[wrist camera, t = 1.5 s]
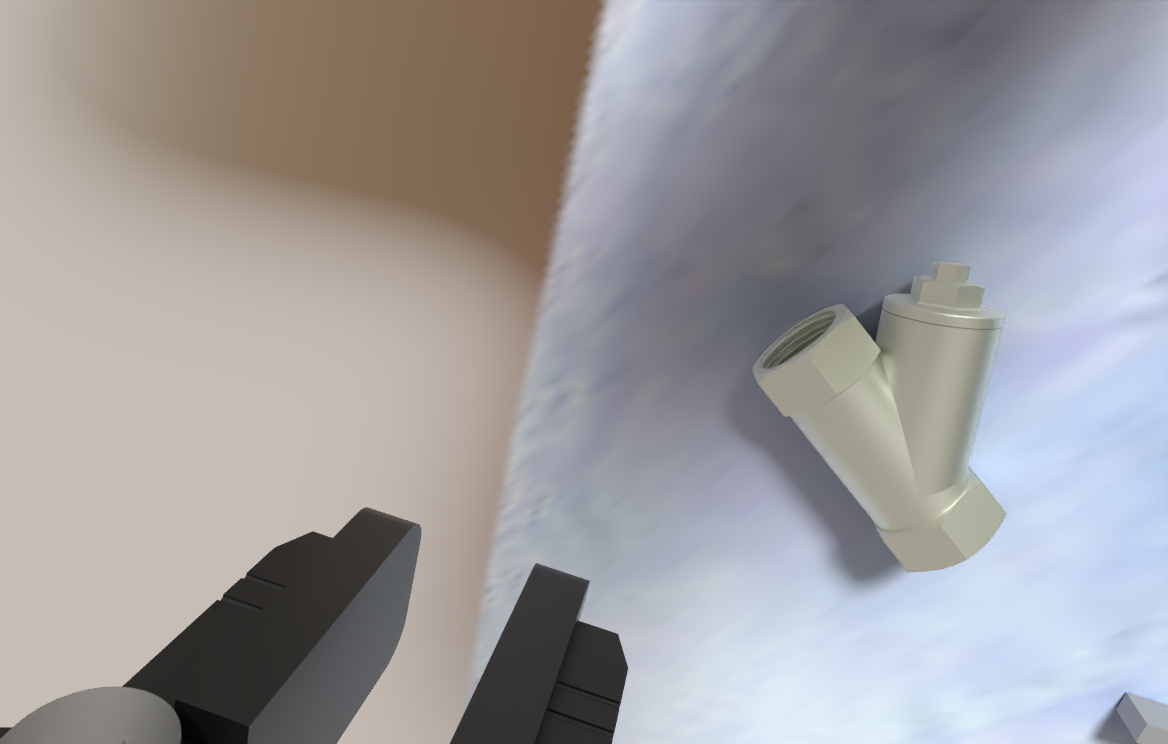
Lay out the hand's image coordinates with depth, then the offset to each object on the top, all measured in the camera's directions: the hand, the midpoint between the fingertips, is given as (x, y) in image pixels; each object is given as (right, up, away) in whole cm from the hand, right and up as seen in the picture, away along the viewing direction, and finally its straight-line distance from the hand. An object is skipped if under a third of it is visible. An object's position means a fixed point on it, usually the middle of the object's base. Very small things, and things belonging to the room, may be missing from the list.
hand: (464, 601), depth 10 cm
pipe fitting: (+12, +2, +15) cm, 20 cm away
